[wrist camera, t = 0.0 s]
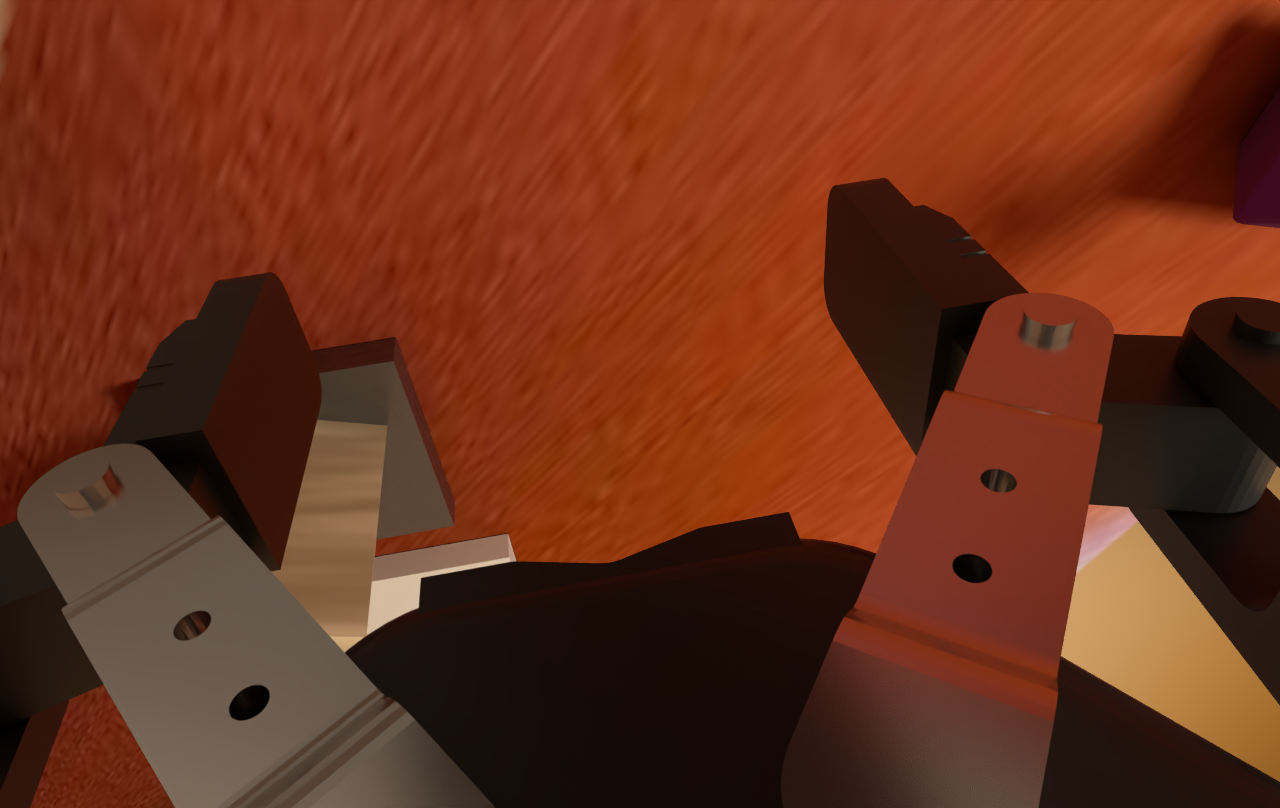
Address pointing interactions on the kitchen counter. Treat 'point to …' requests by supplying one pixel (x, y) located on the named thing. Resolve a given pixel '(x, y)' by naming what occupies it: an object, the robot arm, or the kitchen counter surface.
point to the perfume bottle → (1260, 171)
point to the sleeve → (337, 528)
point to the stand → (388, 432)
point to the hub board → (426, 573)
